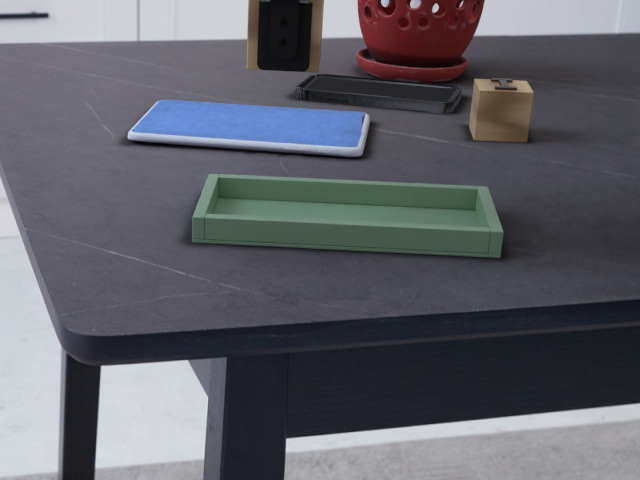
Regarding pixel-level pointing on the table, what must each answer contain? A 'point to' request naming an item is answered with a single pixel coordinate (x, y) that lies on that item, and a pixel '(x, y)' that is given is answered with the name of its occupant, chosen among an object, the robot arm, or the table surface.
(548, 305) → the table surface
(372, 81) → the dark grey shallow tray
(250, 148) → the tablet
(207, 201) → the tray
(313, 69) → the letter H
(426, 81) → the flower pot
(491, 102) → the wooden letter block
